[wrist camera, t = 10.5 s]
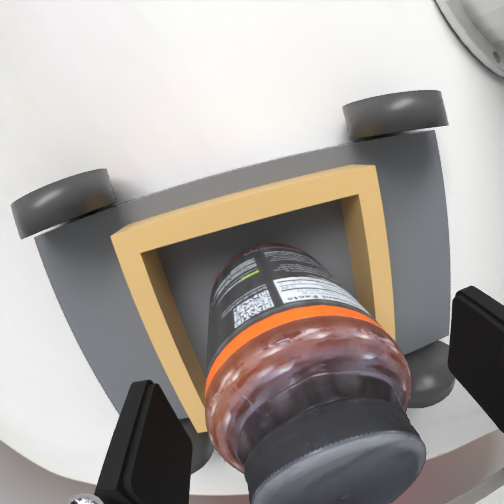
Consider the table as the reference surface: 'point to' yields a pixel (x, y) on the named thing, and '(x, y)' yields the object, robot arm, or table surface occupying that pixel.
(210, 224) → the chassis
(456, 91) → the table surface
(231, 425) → the supplement bottle
